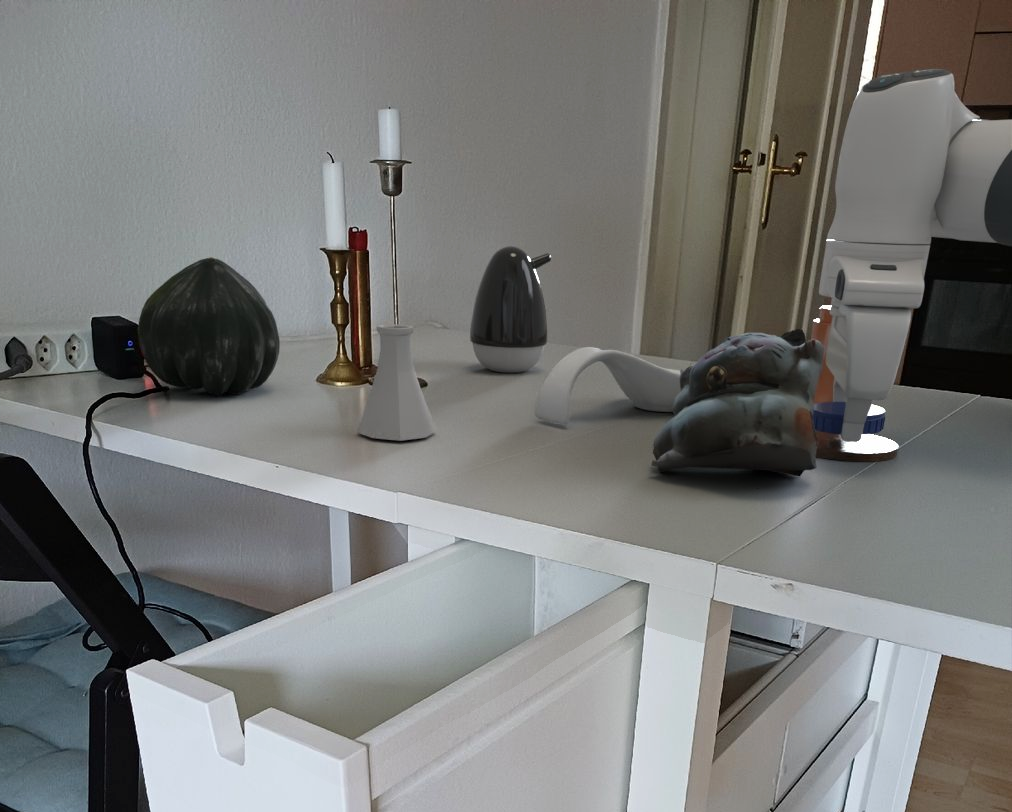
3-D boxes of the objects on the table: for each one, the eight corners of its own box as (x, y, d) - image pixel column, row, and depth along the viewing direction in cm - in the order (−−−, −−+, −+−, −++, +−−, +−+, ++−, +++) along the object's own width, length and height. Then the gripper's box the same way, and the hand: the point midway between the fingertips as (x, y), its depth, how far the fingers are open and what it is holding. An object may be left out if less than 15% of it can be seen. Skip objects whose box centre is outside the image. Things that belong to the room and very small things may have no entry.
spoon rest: (659, 394, 122) (665, 331, 119) (738, 410, 114) (746, 344, 111) (512, 415, 108) (514, 345, 104) (591, 436, 100) (595, 361, 97)
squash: (181, 326, 123) (138, 229, 109) (302, 337, 122) (274, 240, 108) (152, 422, 118) (103, 332, 104) (278, 434, 117) (245, 345, 103)
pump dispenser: (557, 375, 132) (563, 249, 125) (479, 376, 129) (482, 247, 123) (534, 362, 141) (539, 244, 134) (461, 363, 138) (463, 243, 132)
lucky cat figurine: (618, 469, 88) (638, 313, 88) (700, 503, 96) (718, 360, 97) (769, 450, 77) (790, 272, 78) (846, 490, 85) (865, 329, 86)
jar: (844, 396, 124) (860, 305, 120) (865, 406, 118) (882, 311, 114) (794, 395, 124) (807, 304, 119) (812, 405, 118) (827, 310, 113)
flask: (449, 434, 99) (449, 326, 95) (402, 446, 93) (400, 333, 89) (392, 423, 103) (390, 319, 98) (343, 435, 97) (339, 325, 93)
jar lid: (793, 427, 97) (795, 408, 96) (830, 416, 102) (832, 398, 101) (860, 438, 93) (863, 419, 92) (896, 427, 97) (899, 408, 96)
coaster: (871, 438, 103) (873, 430, 102) (915, 462, 94) (916, 453, 93) (776, 436, 102) (777, 429, 102) (810, 461, 93) (811, 452, 93)
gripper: (824, 268, 101) (802, 408, 107) (848, 284, 83) (820, 452, 89) (890, 271, 100) (864, 412, 106) (929, 288, 82) (895, 457, 88)
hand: (844, 431), depth 97 cm, fingers closed on jar lid, 7 cm apart
